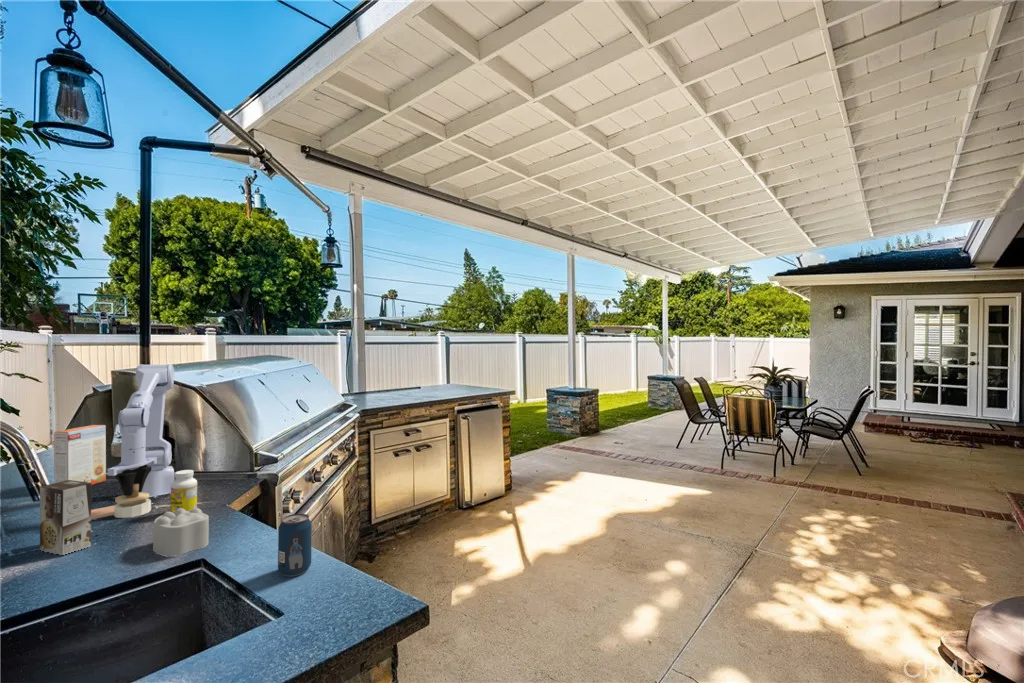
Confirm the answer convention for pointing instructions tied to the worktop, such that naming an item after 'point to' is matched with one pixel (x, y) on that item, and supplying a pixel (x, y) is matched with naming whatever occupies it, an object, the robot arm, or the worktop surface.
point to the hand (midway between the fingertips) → (133, 493)
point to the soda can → (294, 544)
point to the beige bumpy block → (180, 532)
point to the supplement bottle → (183, 491)
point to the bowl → (132, 509)
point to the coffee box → (65, 517)
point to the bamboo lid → (133, 496)
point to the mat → (102, 512)
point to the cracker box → (80, 454)
